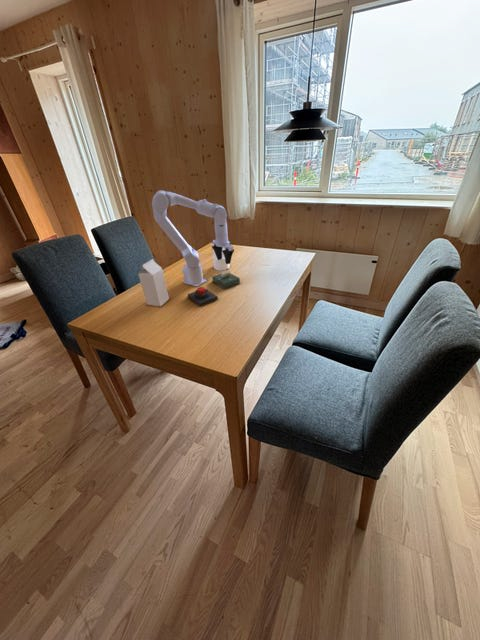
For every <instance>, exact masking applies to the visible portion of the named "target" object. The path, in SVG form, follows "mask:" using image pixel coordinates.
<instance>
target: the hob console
mask: <svg viewBox="0 0 480 640" xmlns="http://www.w3.org/2000/svg"><path fill="white" fill-rule="evenodd" d="M211 280H212V282H213V283H214V284H215V285H218V286H219V287H221V288H222V289H224V290H226V289H229V288H232V287H234V286H237V285H240V284H241V279H240V277H238V276H236V275H234V274H232V273H231V272H230V277H227V278H224V279H222V278H221V273H219V274H215V275H212V279H211Z"/></svg>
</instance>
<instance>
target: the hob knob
mask: <svg viewBox="0 0 480 640" xmlns="http://www.w3.org/2000/svg"><path fill="white" fill-rule="evenodd" d="M219 272H220V273H219V274H221V278H222V279H224V278H227V277H230V273H231V269H230V268H229V269H228V268H227V269H225V270H219Z"/></svg>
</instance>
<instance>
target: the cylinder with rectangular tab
mask: <svg viewBox="0 0 480 640" xmlns="http://www.w3.org/2000/svg"><path fill="white" fill-rule="evenodd" d="M212 246H214V244H212ZM211 249H212V262H213V263H212V264H213V269H214V270H216V271H222V270H225V269H227V268H228V269H230V267H231V265H230V264H231V263H230V264H226V262H225V257H224V254H223V252H222V259H221V260H218V259H217V257H216V254H215V252H214V250H213V248H212V247H211ZM223 250H226V249H225V248H222V251H223Z"/></svg>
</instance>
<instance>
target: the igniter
mask: <svg viewBox="0 0 480 640" xmlns="http://www.w3.org/2000/svg"><path fill="white" fill-rule="evenodd" d="M205 290H206V293H204V294H198V291H197V289H196V290H194V291H193V292H190V293H187V298H188V299H189V300H191V301H192V302H194V303H195V304H196V305H198V306H199V307H203V306H205V305H207V304H210V303H213V302H215V301H218V295H215V293H213V292H211V291H210V289H208V288H205Z"/></svg>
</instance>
